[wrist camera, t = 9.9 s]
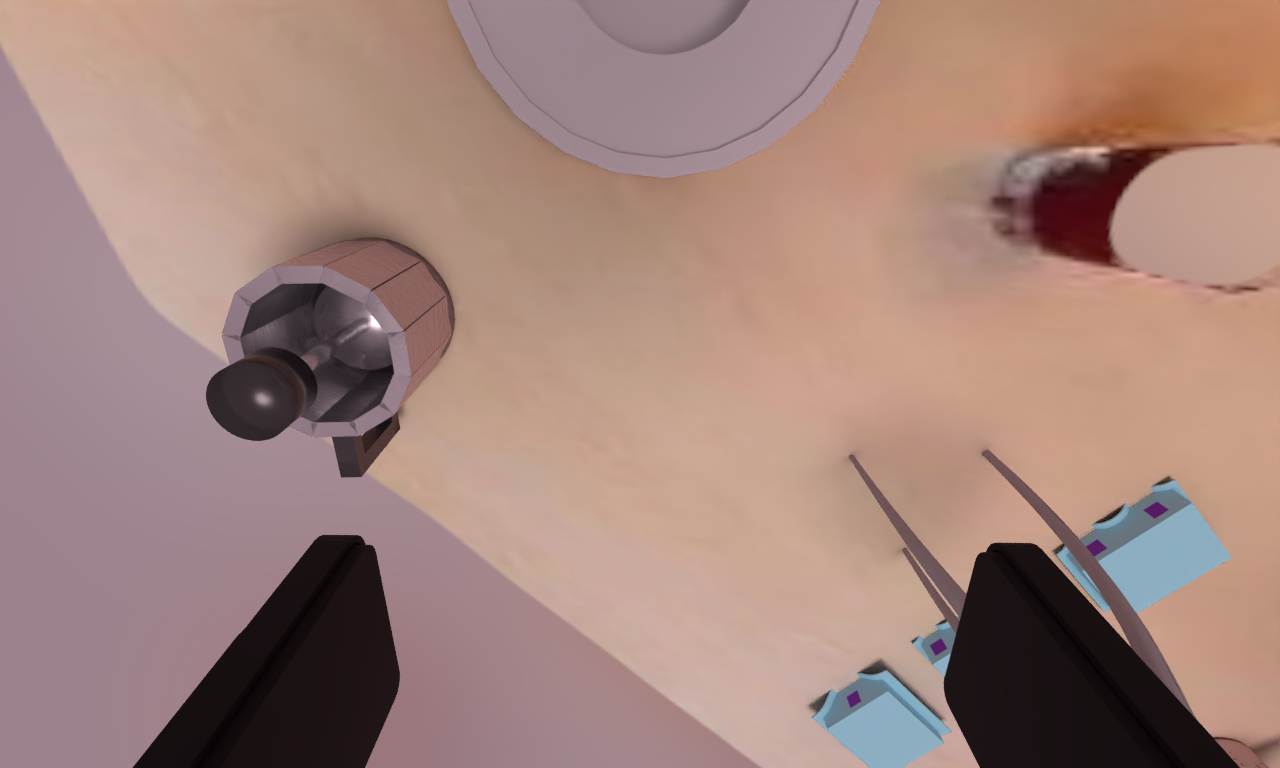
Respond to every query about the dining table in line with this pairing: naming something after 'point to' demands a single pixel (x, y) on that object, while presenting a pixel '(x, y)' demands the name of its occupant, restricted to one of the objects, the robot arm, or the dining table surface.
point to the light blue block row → (1125, 548)
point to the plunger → (295, 370)
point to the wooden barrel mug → (346, 396)
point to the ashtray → (662, 73)
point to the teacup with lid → (1241, 754)
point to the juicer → (1103, 582)
